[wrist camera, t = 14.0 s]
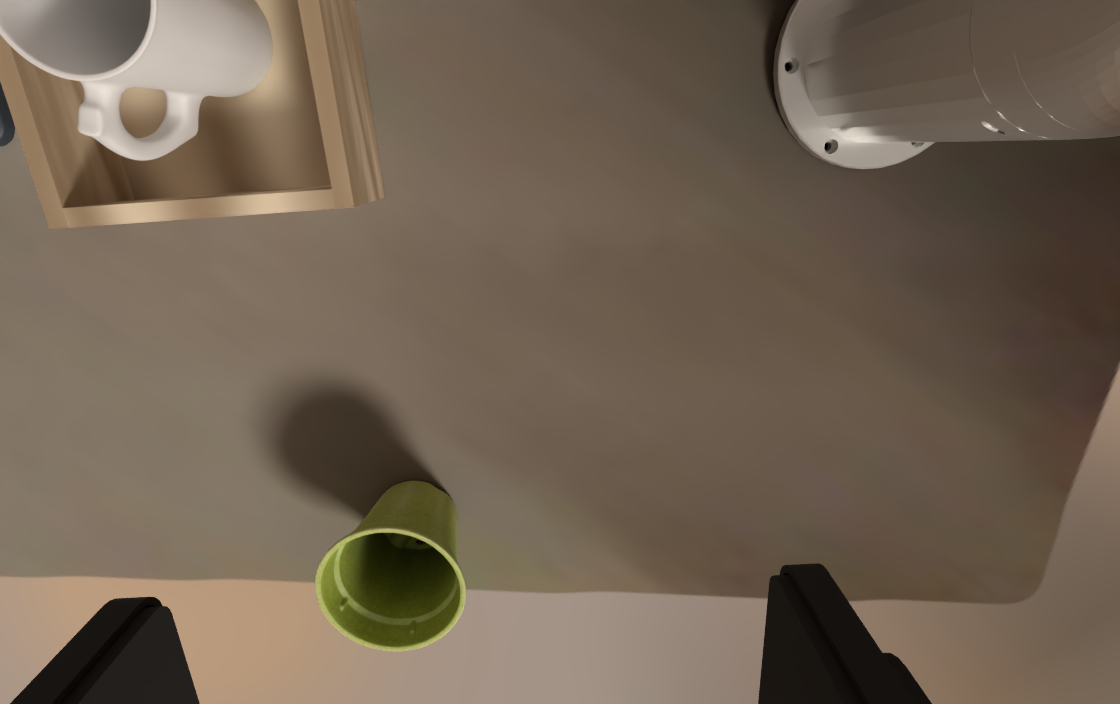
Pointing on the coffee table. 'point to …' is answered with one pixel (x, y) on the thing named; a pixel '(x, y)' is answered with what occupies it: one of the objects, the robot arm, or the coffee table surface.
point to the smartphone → (5, 120)
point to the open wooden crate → (214, 134)
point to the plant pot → (396, 572)
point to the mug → (143, 58)
